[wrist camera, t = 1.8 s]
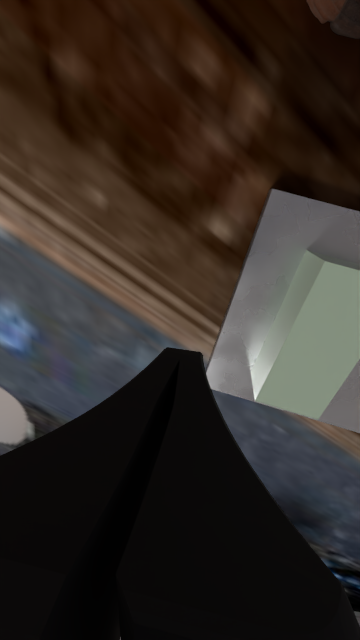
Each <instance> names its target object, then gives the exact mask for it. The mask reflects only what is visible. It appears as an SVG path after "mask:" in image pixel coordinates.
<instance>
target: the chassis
mask: <svg viewBox="0 0 360 640" xmlns="http://www.w3.org/2000/svg"><path fill="white" fill-rule="evenodd" d="M306 250H308V251H312V252H315V253H319V254H323V255H326V256H330V257H334V258H337V259H341V260H345V261H348V262H352V263H356V264H360V212H359V211H355V210H352V209H348V208H344V207H340V206H336V205H333V204H329V203H325V202H321V201H317V200H314V199H310V198H306V197H302V196H298V195H295V194H291V193H287V192H283V191H279V190H276V189H269V192H268V195H267V198H266V201H265V203H264V206H263V209H262V212H261V215H260V218H259V220H258V223H257V226H256V229H255V232H254V235H253V237H252V240H251V243H250V246H249V249H248V251H247V254H246V257H245V260H244V263H243V266H242V268H241V271H240V274H239V277H238V280H237V282H236V285H235V288H234V291H233V294H232V297H231V299H230V302H229V305H228V308H227V311H226V313H225V316H224V319H223V322H222V325H221V328H220V330H219V333H218V336H217V339H216V342H215V345H214V347H213V350H212V353H211V356H210V359H209V361H208V364H207V367H206V370H205V372H206V375H207V379H208V382H209V385H210V387H211V389H213V390H217V391H220V392H224V393H227V394H230V395H234V396H237V397H240V398H244V399H247V400H250V401H254V402H256V401H255V398H254V392H253V385H252V379H251V370H252V368H253V366H254V363H255V361H256V359H257V357H258V355H259V352H260V350H261V348H262V346H263V344H264V342H265V339H266V337H267V335H268V333H269V331H270V328H271V326H272V324H273V322H274V320H275V318H276V315H277V313H278V311H279V309H280V307H281V304H282V302H283V300H284V298H285V296H286V294H287V291H288V289H289V287H290V285H291V283H292V280H293V278H294V276H295V274H296V272H297V270H298V267H299V265H300V263H301V261H302V259H303V256H304V254H305V252H306ZM257 403H260V402H257ZM260 404H263V403H260ZM264 405H267V404H264ZM267 406H270V405H267ZM270 407H273V406H270ZM274 408H277V407H274ZM277 409H280V408H277ZM281 410H283V409H281ZM284 411H287V410H284ZM287 412H290V411H287ZM291 413H293V412H291ZM294 414H297V413H294ZM297 415H300V414H297ZM301 416H303V415H301ZM304 417H307V416H304ZM307 418H310V417H307ZM311 419H313V418H311ZM314 420H317V419H314ZM317 421H321V422H324V423H327V424H331V425H334V426H338V427H341V428H344V429H348V430H351V431H354V432H358V433H360V359H359V361H358V362H357V364H356V365H355V366H354V368H353V369H352V371H351V372H350V374H349V375H348V377H347V378H346V380H345V381H344V383H343V384H342V385H341V387H340V388H339V390H338V391H337V393H336V394H335V396H334V397H333V399H332V400H331V401H330V403H329V404H328V406H327V407H326V409H325V410H324V412H323V413H322V415H321V416H320V418H319V419H318V420H317Z"/></svg>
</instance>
